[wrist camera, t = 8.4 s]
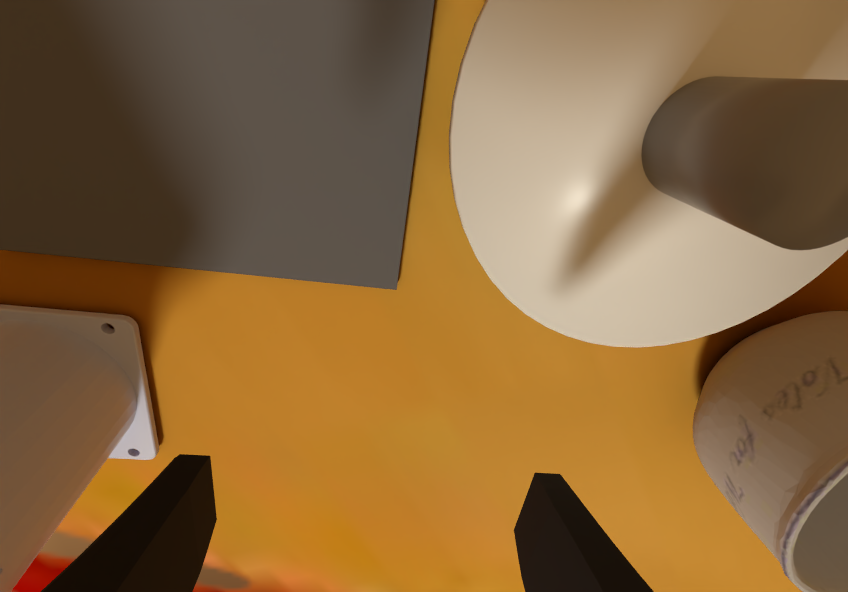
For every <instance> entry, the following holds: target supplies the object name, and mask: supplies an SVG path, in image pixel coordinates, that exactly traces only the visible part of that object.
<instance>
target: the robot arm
mask: <svg viewBox="0 0 848 592" xmlns="http://www.w3.org/2000/svg"><path fill="white" fill-rule="evenodd" d="M106 323H108V324H111V325H112V326H113V327H114V329H112V328H110V327H108V325H107V324H106ZM136 449H137V450H136ZM158 452H159V443H158V438H157V432H156V426H155V420H154V414H153V409H152V403H151V397H150V391H149V386H148V380H147V374H146V368H145V363H144V357H143V351H142V345H141V339H140V334H139V328H138V325H137V322H136V321H135V320H134V319H132V318H131V317H129V316H125V315H117V314H105V313H94V312H82V311H71V310H60V309H48V308H37V307H25V306H14V305H3V304H0V592H11V590H12V589H13V588H14V586H15V585H16V584H17V582H18V581H19V579H20V578H21V577H22V575H23V574H24V573H25V571H26V570H27V568H28V567H29V566H30V564H31V563H32V562H33V560H34V559H35V557H36V556H37V555H38V553H39V552H40V551H41V549H42V548H43V546H44V545H45V544H46V542H47V541H48V540H49V538H50V537H51V535H52V534H53V533H54V531H55V530H56V529H57V527H58V526H59V524H60V523H61V522H62V520H63V519H64V518H65V516H66V515H67V513H68V512H69V511H70V509H71V508H72V507H73V505H74V504H75V502H76V501H77V500H78V498H79V497H80V496H81V494H82V493H83V491H84V490H85V489H86V487H87V486H88V485H89V483H90V482H91V480H92V479H93V478H94V476H95V475H96V474H97V472H98V471H99V469H100V468H101V467H102V465H103V464H104V463H105V461H106V460H107V458H121V459H141V460H149V459H153V458H155V456H156V455H157V453H158ZM216 520H217V518H216V508H215V499H214V489H213V479H212V470H211V460H210V456H202V455H183V454H180V455H178V456H177V457H175V458H174V459H173V460H172V462H171V463H170V464H169V465H168V466H167V467H166V468H165V469H164V470H163V471H162V472H161V473H160V474H159V475H158V477H157V478H156V479H155V480H154V481H153V482H152V483H151V484H150V485H149V486H148V487H147V488H146V489H145V490H144V491H143V492H142V494H141V495H140V496H139V497H138V498H137V499H136V500H135V501H134V502H133V503H132V504H131V505H130V506H129V507H128V508H127V509H126V510H125V511H124V512H123V513H122V514H121V515H120V516H119V517H118V518H117V519H116V520H115V521H114V522H113V523H112V524H111V525H110V526H109V527H108V528H107V529H106V530H105V531H104V532H103V533H102V534H101V535H100V536H99V537H98V538H97V539H96V540H95V541H94V542H93V543H92V544H91V545H90V546H89V547H88V548H87V549H86V550H85V551H84V552H83V553H82V554H81V555H80V556H79V557H78V558H77V559H75V560H74V561H73V562H72V563H71V564H70V565H69V566H68V567H67V568H66V569H65V570H64V571H63V572H61V573H60V574H59V575H58V576H57V577H56V578H55V579H54V580H53V581H52V582H51V583H50V584H48V585H47V586H46V587H45V588H44V589H43V590H42V591H41V592H192V591H193V589H194V586H195V584H196V581H197V579H198V577H199V574H200V571H201V569H202V565H203V562H204V559H205V556H206V553H207V550H208V546H209V543H210V540H211V536H212V533H213V530H214V526H215V523H216ZM514 533H515V539H516V546H517V552H518V559H519V564H520V570H521V576H522V580H523V584H524V588H525V592H653V590H652V589H651V588H650V587H649V586H648V584H647V583H646V582H645V581H644V580H643V579H642V577H641V576H640V575H639V574H638V573H637V571H636V570H635V569H634V568H633V566H632V565H631V564H630V563H629V562H628V560H627V559H626V558H625V557H624V555H623V554H622V553H621V552H620V550H619V549H618V548H617V547H616V546H615V544H614V543H613V542H612V541H611V539H610V538H609V537H608V535H607V534H606V533H605V532H604V530H603V529H602V528H601V526H600V525H599V524H598V523H597V521H596V520H595V519H594V517H593V516H592V515H591V514H590V512H589V511H588V510H587V508H586V507H585V506H584V504H583V503H582V502H581V501H580V499H579V498H578V497H577V495H576V494H575V493H574V491H573V490H572V489H571V488H570V486H569V485H568V484H567V482H566V481H565V480H564V479H563V477H562V476H561V475H560V474H549V473H535V474H534V477H533V480H532V482H531V485H530V488H529V490H528V493H527V496H526V499H525V501H524V504H523V507H522V510H521V512H520V515H519V518H518V520H517V523H516V526H515V529H514Z"/></svg>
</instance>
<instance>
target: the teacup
mask: <svg viewBox="0 0 848 592" xmlns="http://www.w3.org/2000/svg"><path fill="white" fill-rule="evenodd" d="M693 438H694V444H695V448H696V451H697V453H698V456H699V458H700V460H701V462H702V464H703V466H704V468H705V470H706V472H707V473H708V474H709V476H710V477H711V479H712V480H713V482H714V483H715V485H716V486H717V487H718V489H719V490H720V491H721V492H722V494H723V495H724V496H725V498H726V499H727V500H728V501H729V503H730V504H731V505H732V506H733V508H734V509H735V510H736V511H737V512H738V514H739V515H740V516H741V517H742V519H743V520H744V521H745V522H746V523H747V525H748V526H749V527H750V528H751V529H752V530H753V532H754V533H755V534H756V535H757V536H758V537H759V539H760V540H761V541H762V542H763V543H764V544H765V545H766V547H767V548H768V549H769V550H770V551H771V552H772V554H773V555H774V556H775V557H776V558H777V559H778V561H779V562H780V564H781V566H782V568H783V571H784V573H785V575H786V576H787V577H788V578H789V579H790V580H791V581H792V583H794V584H795V585H796V586H797V587H798V588H799V589H800V590H802V591H803V592H848V311H826V312H820V313H813V314H808V315H804V316H800V317H797V318H794V319H791V320H788V321H785V322H782V323H780V324H777V325H773V326H771V327H768V328H765V329H763V330H761V331H759V332H757V333H755V334H753V335H751V336H749V337H747V338H745V339H744V340H742V341H741V342H739V343H738V344H737V345H735V346H734V347H733V348H731V349H730V350H729V351H728V352H727V353H726V354H725V355H724V356H723V357H722V358H721V359H720V360H719V361H718V363H717V364H716V365H715V366H714V368H713V369H712V371H711V372H710V374H709V375H708V377H707V379H706V381H705V383H704V386H703V388H702V391H701V395H700V397H699V399H698V403H697V406H696V409H695V413H694V421H693Z"/></svg>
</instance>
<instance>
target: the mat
mask: <svg viewBox="0 0 848 592" xmlns="http://www.w3.org/2000/svg"><path fill="white" fill-rule="evenodd" d="M433 8H434V0H0V250H9V251H19V252H29V253H39V254H49V255H59V256H68V257H78V258H88V259H98V260H108V261H118V262H128V263H137V264H147V265H157V266H167V267H177V268H187V269H197V270H207V271H216V272H226V273H236V274H246V275H256V276H266V277H276V278H285V279H295V280H305V281H315V282H325V283H335V284H345V285H354V286H364V287H374V288H384V289H394V290H397V282H398V274H399V267H400V259H401V252H402V244H403V236H404V229H405V221H406V213H407V206H408V198H409V191H410V183H411V175H412V168H413V160H414V152H415V145H416V137H417V130H418V122H419V114H420V107H421V99H422V91H423V84H424V76H425V69H426V61H427V53H428V46H429V38H430V30H431V23H432V15H433Z"/></svg>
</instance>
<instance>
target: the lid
mask: <svg viewBox="0 0 848 592" xmlns="http://www.w3.org/2000/svg"><path fill="white" fill-rule="evenodd" d="M449 162H450V174H451V180H452V187H453V193H454V199H455V203H456V206H457V209H458V213H459V216H460V220H461V223H462V226H463V228H464V231H465V233H466V235H467V237H468V240H469V242H470V244H471V246H472V248H473V251H474V253H475V255H476V257H477V259H478V260H479V262H480V264H481V265H482V267H483V268H484V270H485V271H486V273H487V275H488V276H489V278H490V279H491V280H492V282H493V283H494V284H495V285H496V286H497V287H498V288H499V290H500V291H501V292H502V293H503V294H504V295H505V297H506V298H507V299H508V300H510V301H511V302H512V303H513V304H514V305H515V306H517V307H518V308H519V309H520V310H521V311H523V312H524V313H525V314H526V315H528V316H529V317H531V318H533V319H534V320H536V321H537V322H539V323H541V324H542V325H544V326H545V327H548V328H550V329H552V330H554V331H557V332H559V333H561V334H563V335H566V336H568V337H572V338H575V339H579V340H582V341H585V342H589V343H594V344H601V345H607V346H614V347H650V346H662V345H669V344H674V343H679V342H685V341H690V340H693V339H697V338H700V337H704V336H707V335H711V334H714V333H717V332H719V331H722V330H725V329H727V328H730V327H732V326H735V325H737V324H740V323H742V322H744V321H746V320H748V319H750V318H752V317H754V316H756V315H758V314H760V313H762V312H764V311H766V310H768V309H770V308H771V307H773V306H775V305H776V304H778V303H779V302H781V301H783V300H784V299H786V298H788V297H789V296H791V295H793V294H794V293H795V292H797V291H798V290H799V289H801V288H802V287H804V286H805V285H806V284H808V283H809V282H810V281H812V280H813V279H815V278H816V277H817V276H819V275H820V274H821V273H822V272H823V271H824V270H826V269H827V268H828V267H829V266H830V265H831V264H832V263H834V262H835V261H836V260H837V259H838V258H839V257H841V256H842V255H843V254H844V253H845V252H846V251H847V250H848V0H486V1H485V3H484V5H483V8H482V10H481V12H480V14H479V16H478V18H477V20H476V22H475V24H474V27H473V30H472V32H471V35H470V38H469V41H468V44H467V47H466V50H465V52H464V55H463V58H462V61H461V64H460V69H459V73H458V78H457V82H456V87H455V91H454V96H453V100H452V110H451V120H450V130H449Z"/></svg>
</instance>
